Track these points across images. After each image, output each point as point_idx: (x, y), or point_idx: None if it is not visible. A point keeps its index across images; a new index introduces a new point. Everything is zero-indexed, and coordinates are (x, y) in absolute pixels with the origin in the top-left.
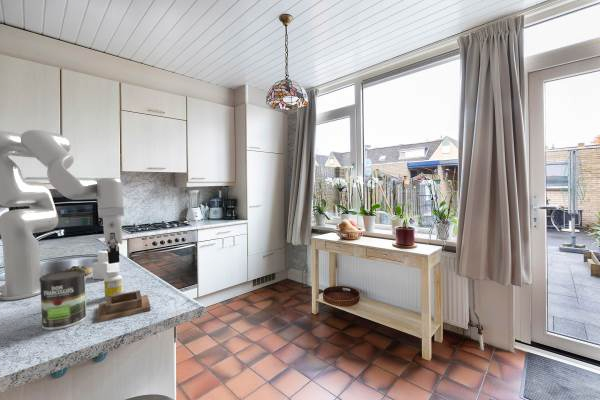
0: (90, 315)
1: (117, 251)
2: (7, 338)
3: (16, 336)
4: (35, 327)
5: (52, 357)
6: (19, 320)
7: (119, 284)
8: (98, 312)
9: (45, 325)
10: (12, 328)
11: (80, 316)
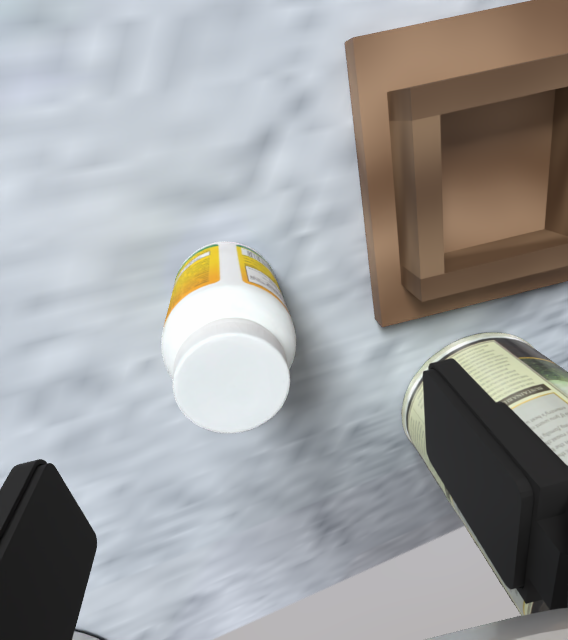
0: (462, 324)
1: (559, 492)
2: None
3: None
4: None
5: None
6: (369, 543)
7: (264, 277)
8: (509, 291)
9: None
10: (436, 526)
11: (537, 351)
